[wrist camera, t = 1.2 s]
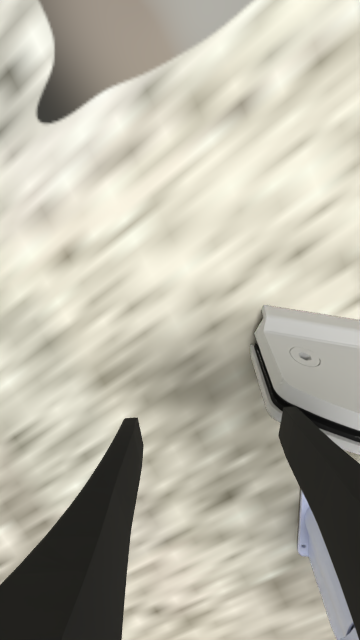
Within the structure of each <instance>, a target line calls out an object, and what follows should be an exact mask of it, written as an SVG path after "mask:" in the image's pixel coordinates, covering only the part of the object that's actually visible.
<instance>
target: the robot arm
mask: <svg viewBox="0 0 360 640" xmlns="http://www.w3.org/2000/svg"><path fill="white" fill-rule="evenodd" d="M279 439H280V441H281V444H282V447H283V450H284V453H285V456H286V458H287V460H288V463H289V465H290V467H291V469H292V471H293V473H294V475H295V477H296V479H297V482H298V484H299V486H300V488H301V499H300V516H299V532H298V548H297V549H298V553H299V554H300V555H301V556H308V557H309V560H310V563H311V566H312V569H313V572H314V575H315V578H316V581H317V584H318V587H319V590H320V594H321V597H322V600H323V603H324V606H325V609H326V612H327V615H328V618H329V621H330V624H331V627H332V630H333V632H334V635H335V637H336V639H337V640H360V464H359V463H358V462H357V461H356V460H354V459H353V458H352V457H351V456H349V455H348V454H347V453H346V452H345V451H344V450H342V449H341V448H340V447H339V446H338V445H337V444H336V443H335V442H333V441H332V440H331V439H330V438H329V437H328V436H327V435H326V434H325V433H323V432H322V431H321V430H320V429H319V428H318V427H317V426H316V425H315V424H314V423H313V422H312V421H311V420H310V419H309V418H307V417H306V416H305V415H304V414H303V413H302V412H301V411H300V410H299V409H298V408H297V407H296V406H294V407H283V412H282V418H281V424H280V430H279ZM142 458H143V441H142V436H141V432H140V427H139V422H138V418H125V419H124V420H123V422H122V424H121V426H120V428H119V430H118V432H117V434H116V436H115V438H114V440H113V441H112V443H111V445H110V447H109V448H108V450H107V452H106V453H105V455H104V457H103V458H102V460H101V462H100V463H99V465H98V466H97V468H96V469H95V471H94V473H93V474H92V476H91V477H90V479H89V480H88V482H87V483H86V485H85V486H84V487H83V489H82V490H81V492H80V493H79V494H78V496H77V497H76V498H75V500H74V501H73V502H72V504H71V505H70V506H69V508H68V509H67V510H66V511H65V513H64V514H63V515H62V516H61V518H60V519H59V520H58V521H57V523H56V524H55V525H54V526H53V528H52V529H51V530H50V531H49V532H48V534H47V535H46V536H45V537H44V538H43V539H42V540H41V542H40V543H39V544H38V545H37V546H36V547H35V548H34V549H33V550H32V552H31V553H30V554H29V555H28V556H27V557H26V558H25V559H24V561H23V562H22V563H21V564H20V565H19V566H18V567H17V568H16V569H15V570H14V571H13V572H12V573H11V574H10V575H9V576H8V577H7V578H6V579H5V581H4V582H3V583H2V584H1V585H0V640H121V638H122V624H123V611H124V599H125V587H126V576H127V564H128V554H129V544H130V534H131V527H132V521H133V515H134V509H135V504H136V498H137V492H138V487H139V481H140V475H141V469H142Z"/></svg>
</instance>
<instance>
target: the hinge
mask: <svg viewBox="0 0 360 640" xmlns="http://www.w3.org/2000/svg"><path fill="white" fill-rule="evenodd" d="M262 314H263V319H262V321H261V323H260V324H259V326H258V328H257V329H256V331H255V333H254V334H255V337H256V340H257V343H258V344H256V343H255V345H251V344H250V356H251V359H252V362H253V366H254V369H255V372H256V376H257V379H258V383H259V386H260V389H261V393H262V396H263V400H264V403H265V406H266V410H267V412H268V413H269V415H270V416H271V417H272V418H273V419H275V420H276V421H278V422H280V423H281V418H282V412H283V407H294V406H296V407H297V408H298V409H299V410H300V411H301V412H302V413H303V414H304V415H305V416H306V417H307V418H309V419H310V420H311V421H312V422H313V423H314V424H315V425H316V426H317V427H318V428H319V429H320V430H321V431H322V432H323V433H325V434H326V435H327V436H328V437H329V438H330V439H331V440H332V441H333V442H335V443H336V444H337V445H338V446H339V447H340V448H341V449H343V450H346V451H349V452H352V453H356V454H359V455H360V320H356V319H350V318H344V317H337V316H331V315H325V314H318V313H312V312H306V311H300V310H293V309H287V308H281V307H274V306H268V305H263V307H262Z"/></svg>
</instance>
